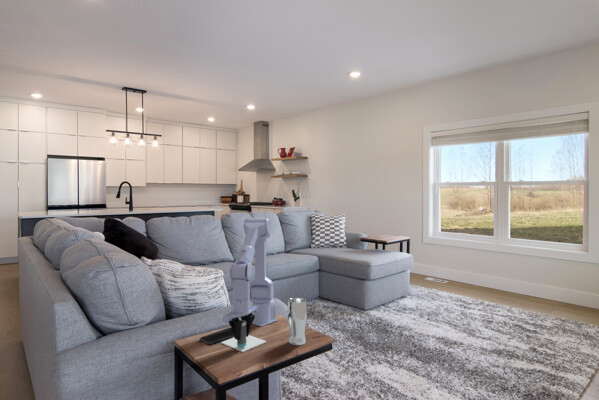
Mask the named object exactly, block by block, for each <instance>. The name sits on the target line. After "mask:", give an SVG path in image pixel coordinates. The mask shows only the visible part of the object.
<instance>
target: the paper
mask: <svg viewBox="0 0 599 400" xmlns="http://www.w3.org/2000/svg"><path fill="white" fill-rule="evenodd" d="M265 343H267V341H266V340H264V339H262V338H260V337H259V338H258V337H255V336H253V335H250V334H249V336H248V337H246V346H244V347H238V346H237V340H236V339H235V338H231V339H228V340H226V341H223V342H220V344H223V345H224V346H226V347H229V348H231V349H235V350H236V351H239V352H241V353H245V352H247V351H250V350H252V349H254V348H256V347H259V346H261V345H263V344H265Z"/></svg>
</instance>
